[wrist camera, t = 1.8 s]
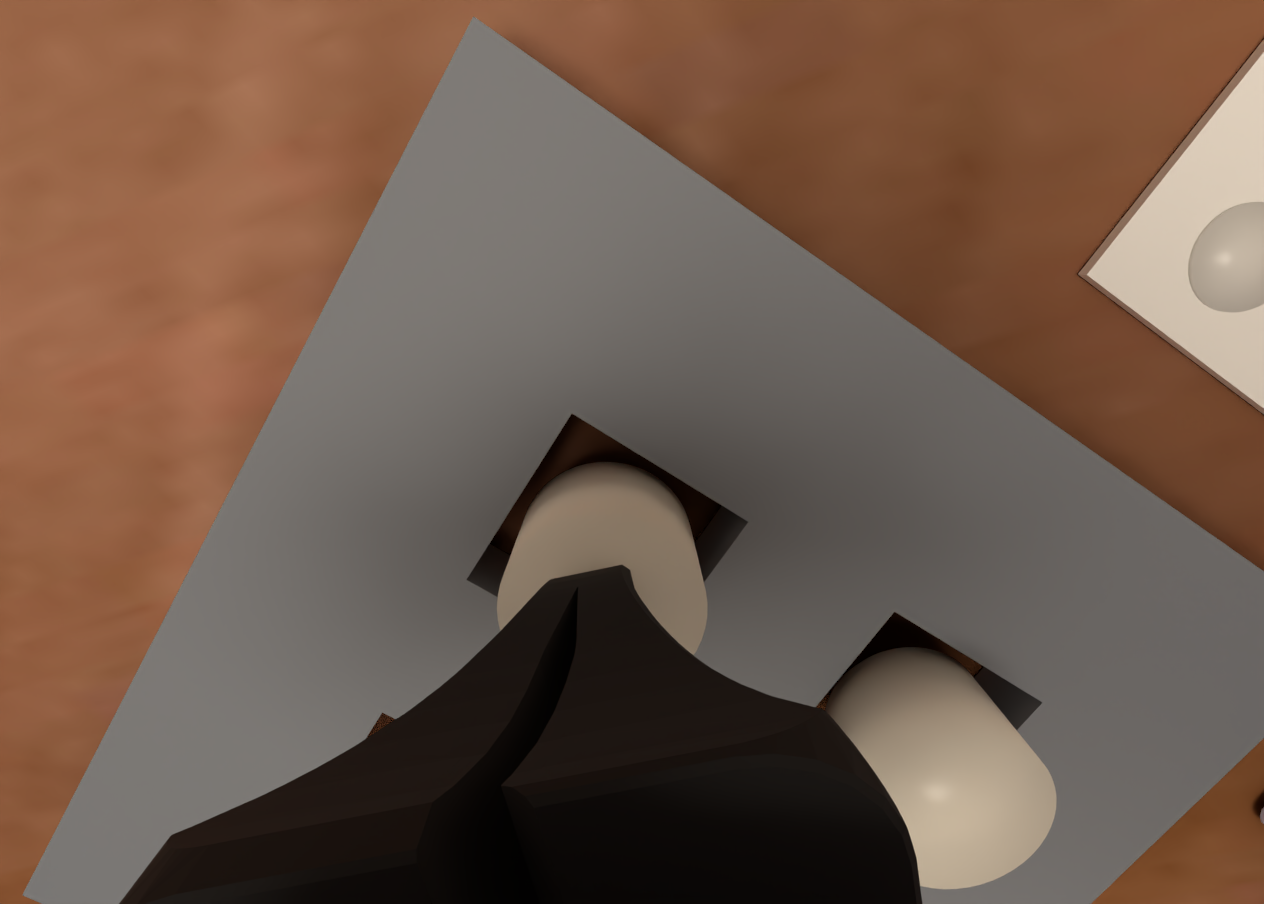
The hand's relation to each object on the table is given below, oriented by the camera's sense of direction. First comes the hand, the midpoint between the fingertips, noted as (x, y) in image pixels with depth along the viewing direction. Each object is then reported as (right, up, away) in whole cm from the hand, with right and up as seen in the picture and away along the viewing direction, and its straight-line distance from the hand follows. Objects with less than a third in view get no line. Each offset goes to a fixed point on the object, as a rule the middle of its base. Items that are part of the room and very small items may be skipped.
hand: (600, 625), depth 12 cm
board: (+1, -4, +6) cm, 8 cm away
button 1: (+7, -3, +5) cm, 9 cm away
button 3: (0, +1, +3) cm, 3 cm away
